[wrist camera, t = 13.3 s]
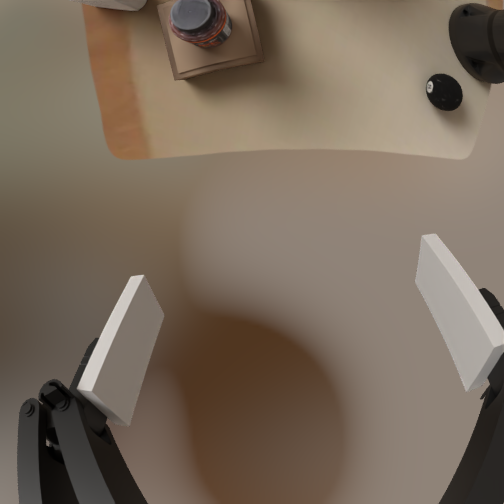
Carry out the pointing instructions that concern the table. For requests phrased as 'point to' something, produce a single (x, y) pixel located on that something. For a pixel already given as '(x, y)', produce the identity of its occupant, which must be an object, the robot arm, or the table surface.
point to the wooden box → (220, 57)
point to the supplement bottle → (200, 22)
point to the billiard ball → (444, 92)
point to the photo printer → (116, 4)
